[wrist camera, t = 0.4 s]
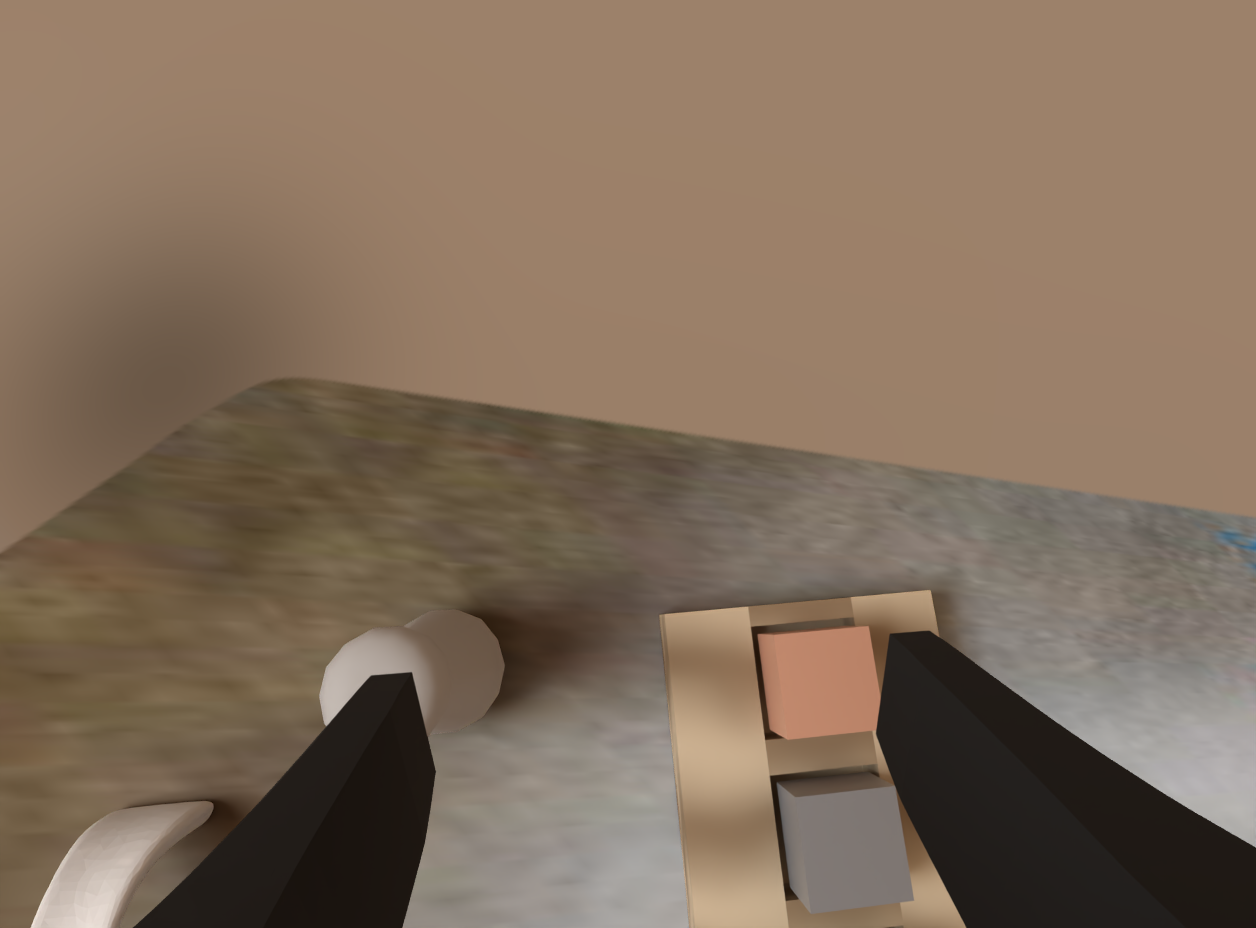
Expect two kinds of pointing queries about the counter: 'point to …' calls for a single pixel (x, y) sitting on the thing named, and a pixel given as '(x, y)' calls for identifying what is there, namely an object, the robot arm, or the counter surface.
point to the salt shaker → (424, 667)
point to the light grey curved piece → (114, 863)
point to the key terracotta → (820, 681)
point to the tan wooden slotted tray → (772, 765)
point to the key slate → (844, 842)
